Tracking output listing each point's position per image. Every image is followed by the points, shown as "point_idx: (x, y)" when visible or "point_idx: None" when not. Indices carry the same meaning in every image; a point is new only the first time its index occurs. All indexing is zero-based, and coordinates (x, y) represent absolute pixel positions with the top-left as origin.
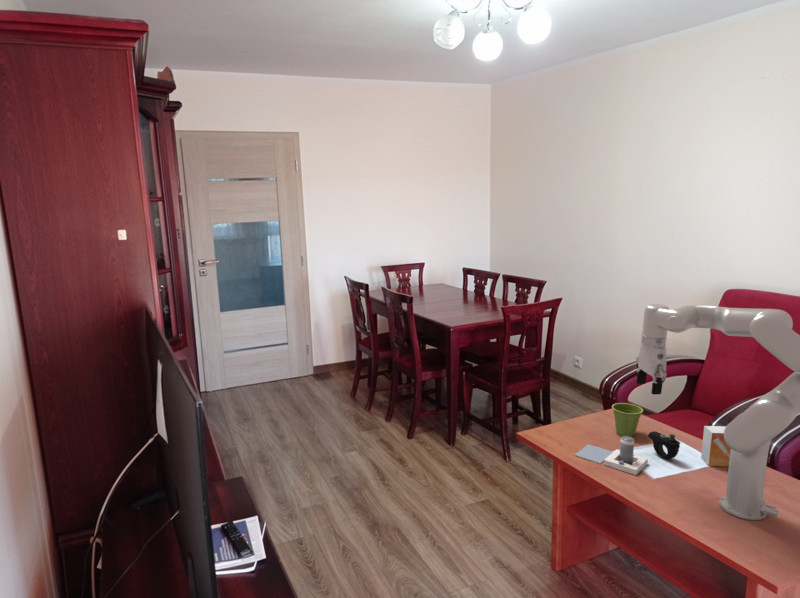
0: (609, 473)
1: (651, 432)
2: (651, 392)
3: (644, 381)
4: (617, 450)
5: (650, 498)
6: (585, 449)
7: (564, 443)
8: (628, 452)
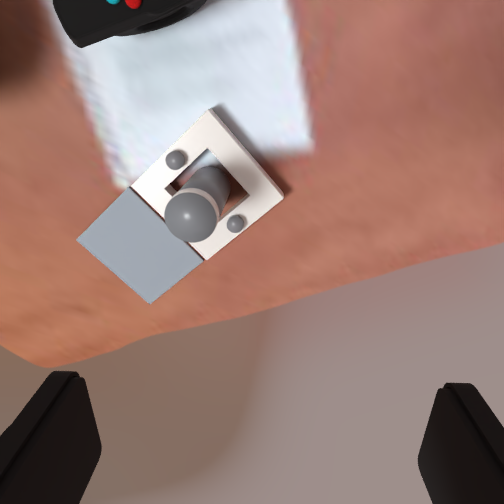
0: (260, 260)
1: (68, 26)
2: (428, 479)
3: (71, 412)
4: (142, 188)
5: (413, 221)
6: (114, 262)
7: (73, 298)
8: (222, 208)
